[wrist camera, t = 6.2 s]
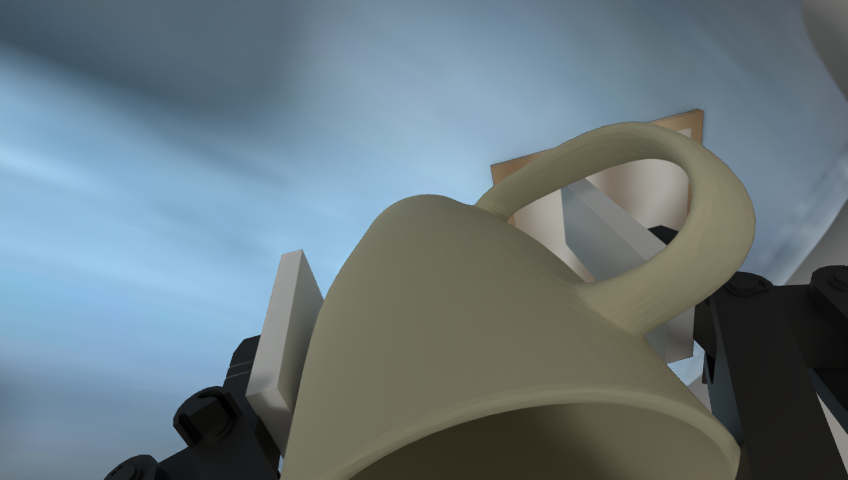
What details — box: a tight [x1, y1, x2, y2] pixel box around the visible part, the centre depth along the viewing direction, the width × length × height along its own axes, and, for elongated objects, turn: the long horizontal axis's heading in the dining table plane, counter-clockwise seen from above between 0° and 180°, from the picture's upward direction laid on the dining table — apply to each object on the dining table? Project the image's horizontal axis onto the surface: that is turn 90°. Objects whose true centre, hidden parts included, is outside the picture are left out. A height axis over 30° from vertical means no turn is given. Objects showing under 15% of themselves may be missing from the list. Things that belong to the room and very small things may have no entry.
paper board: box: [490, 109, 704, 283], centre depth 38 cm, size 16×14×1 cm
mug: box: [280, 122, 756, 480], centre depth 13 cm, size 11×10×12 cm
